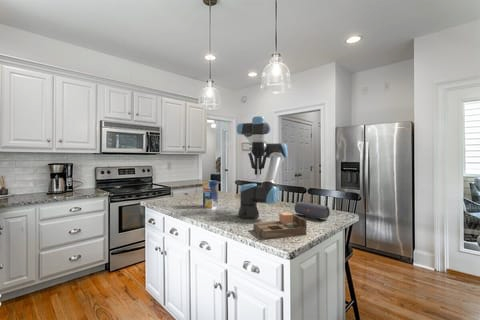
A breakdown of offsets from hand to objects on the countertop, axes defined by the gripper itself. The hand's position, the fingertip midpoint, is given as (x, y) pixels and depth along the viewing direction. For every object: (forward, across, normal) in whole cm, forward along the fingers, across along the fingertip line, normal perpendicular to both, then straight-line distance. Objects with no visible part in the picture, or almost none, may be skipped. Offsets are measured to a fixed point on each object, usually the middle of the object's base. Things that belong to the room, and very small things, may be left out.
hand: (257, 179), depth 147 cm
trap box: (+28, +7, -15) cm, 33 cm away
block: (+24, +14, -11) cm, 30 cm away
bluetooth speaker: (+29, +44, +7) cm, 53 cm away
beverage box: (+29, -18, +62) cm, 71 cm away
